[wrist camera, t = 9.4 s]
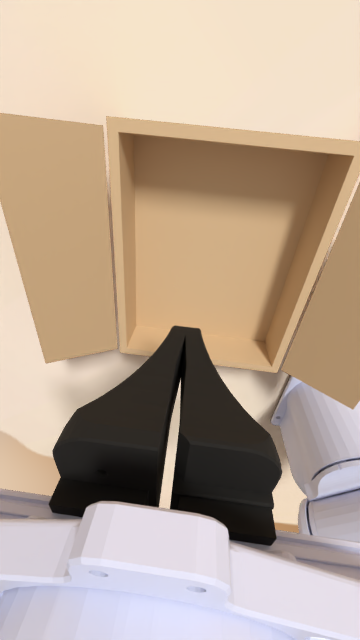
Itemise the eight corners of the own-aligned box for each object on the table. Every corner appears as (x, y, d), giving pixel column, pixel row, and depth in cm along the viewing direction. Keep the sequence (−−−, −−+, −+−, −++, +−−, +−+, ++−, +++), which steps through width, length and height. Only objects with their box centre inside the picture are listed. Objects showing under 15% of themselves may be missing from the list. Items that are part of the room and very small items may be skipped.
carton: (267, 343, 25) (276, 372, 22) (131, 326, 25) (120, 352, 22) (338, 144, 16) (372, 142, 13) (127, 123, 16) (106, 116, 13)
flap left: (102, 125, 13) (101, 125, 14) (-26, 109, 11) (-24, 110, 12) (117, 348, 22) (116, 345, 22) (45, 363, 20) (45, 359, 20)
